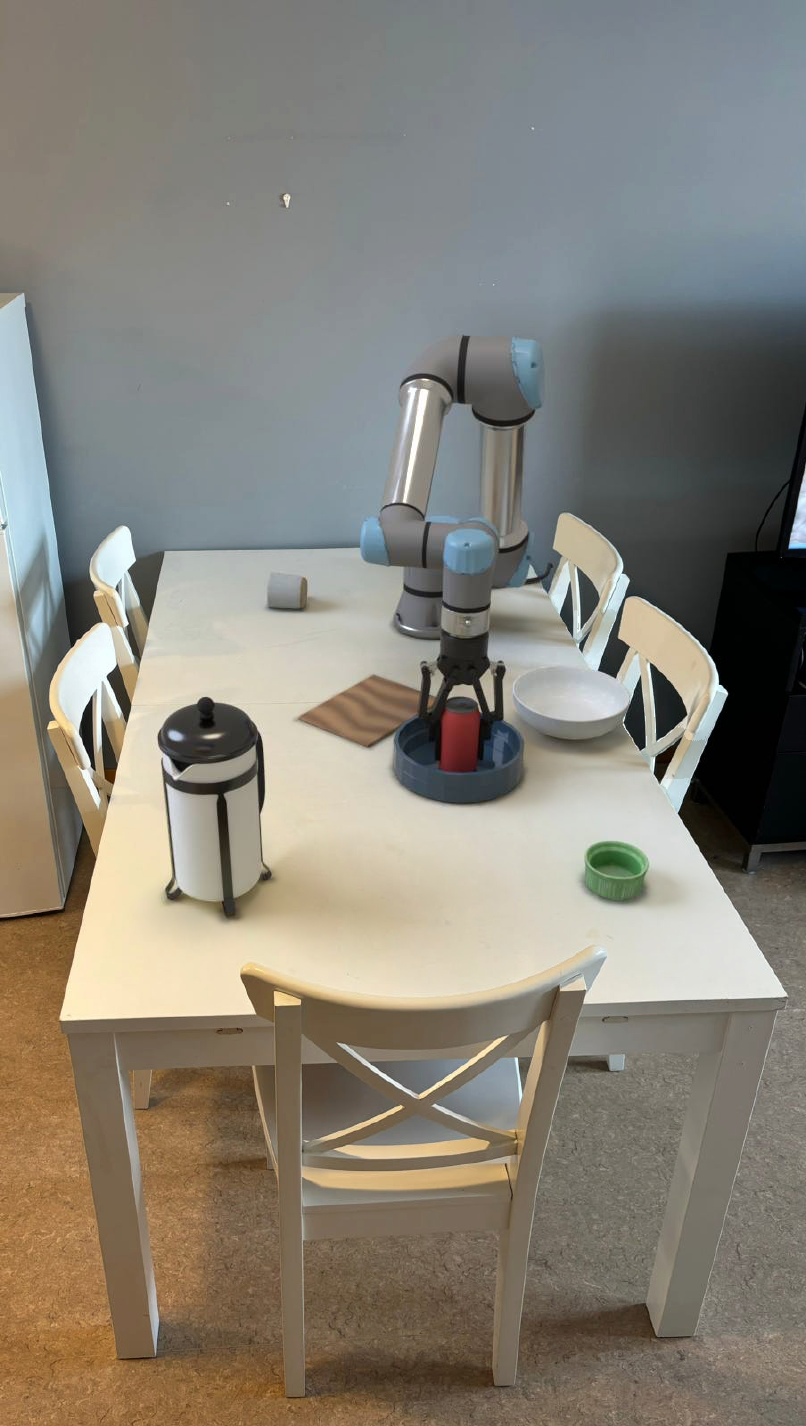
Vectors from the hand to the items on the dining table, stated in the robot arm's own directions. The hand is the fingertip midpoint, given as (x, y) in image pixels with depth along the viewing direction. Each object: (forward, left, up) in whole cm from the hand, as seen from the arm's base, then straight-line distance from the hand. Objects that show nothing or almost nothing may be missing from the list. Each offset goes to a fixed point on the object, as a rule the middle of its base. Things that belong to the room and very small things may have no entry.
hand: (458, 756), depth 179 cm
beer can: (0, 0, -2) cm, 2 cm away
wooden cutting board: (-7, -24, -2) cm, 25 cm away
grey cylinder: (-34, -69, -3) cm, 77 cm away
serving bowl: (-25, +7, -3) cm, 26 cm away
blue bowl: (0, 0, -2) cm, 2 cm away
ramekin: (+12, +35, -3) cm, 37 cm away
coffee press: (+46, -9, -3) cm, 47 cm away
